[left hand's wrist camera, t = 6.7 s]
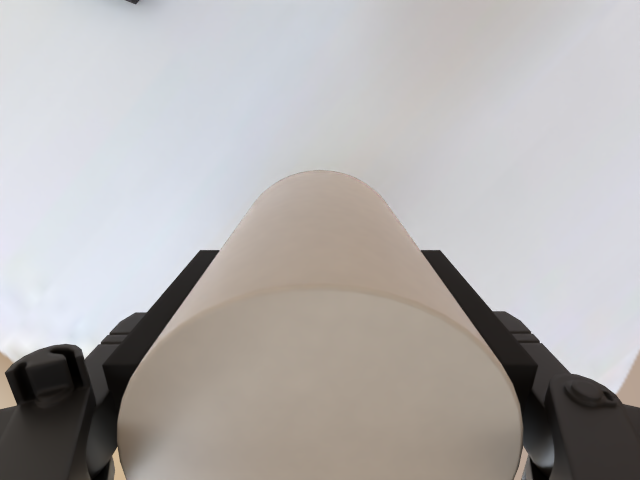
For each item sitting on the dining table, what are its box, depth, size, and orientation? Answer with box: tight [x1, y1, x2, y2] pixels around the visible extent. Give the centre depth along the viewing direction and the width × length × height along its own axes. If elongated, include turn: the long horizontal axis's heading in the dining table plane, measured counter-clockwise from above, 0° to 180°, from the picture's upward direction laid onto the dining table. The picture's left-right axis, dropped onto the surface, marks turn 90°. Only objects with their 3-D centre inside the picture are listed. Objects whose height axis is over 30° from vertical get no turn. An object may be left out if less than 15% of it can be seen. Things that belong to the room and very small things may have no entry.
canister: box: [117, 170, 523, 480], centre depth 12 cm, size 8×8×11 cm
